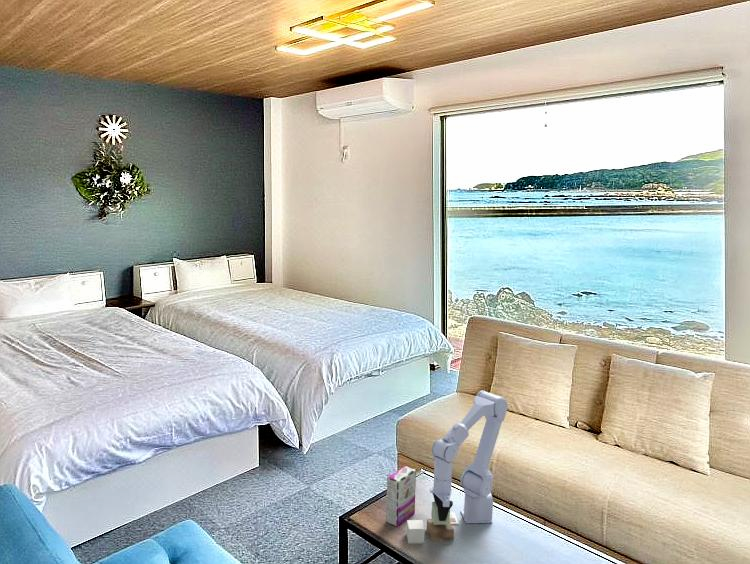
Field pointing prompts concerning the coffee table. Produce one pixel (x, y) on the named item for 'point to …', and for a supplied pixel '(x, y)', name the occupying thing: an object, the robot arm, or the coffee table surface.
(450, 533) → the walnut block
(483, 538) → the coffee table surface
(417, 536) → the pale grey cube
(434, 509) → the sage cube
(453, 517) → the card
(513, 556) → the coffee table surface
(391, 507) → the candy bar box
